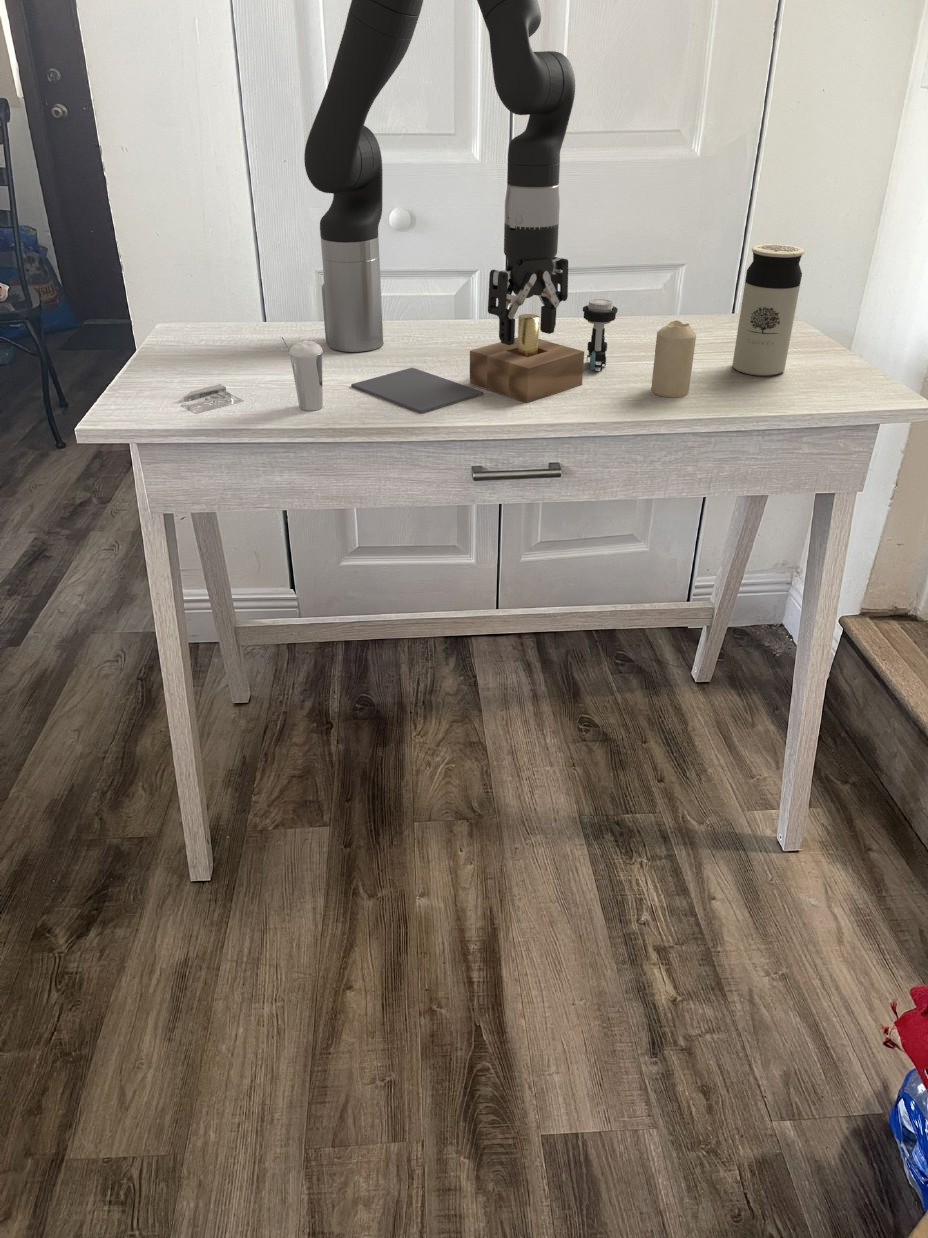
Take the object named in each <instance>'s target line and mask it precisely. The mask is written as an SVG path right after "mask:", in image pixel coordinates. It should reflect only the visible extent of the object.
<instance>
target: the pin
mask: <svg viewBox="0 0 928 1238" xmlns="http://www.w3.org/2000/svg"><path fill="white" fill-rule="evenodd" d="M517 321H518V322H517V326H518V327H517V337H518V353H517V354H518V355H521V356H525V357H530V356H534V355H537V354H538V339H539V330H540V327H539V326H540V316H539V315H537V314H534V313H533V314H532V313H525V314H523V313H522V314H520V315H518V320H517Z"/></svg>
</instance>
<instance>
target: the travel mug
mask: <svg viewBox="0 0 928 1238" xmlns="http://www.w3.org/2000/svg"><path fill="white" fill-rule="evenodd" d="M751 252H752V262H751V263H750V265H749V266H748V267H747V269H746V274H745V281H744V286H743V294H742V299H741V307H740V312H739V313H740V314H739V319H738V320H739V321H738V327H737V332H736V339H735V344H734V345H735V346H734V352H733V357H732V358H733V359H732V367H733V368H734V369H735V370H736V371H738V372H739V373H742V374H746V375H751V376H754V377H755V376H757V377H769V376H771V377H772V376H775V375H779V374H781V373H783V372H784V371H785V369H786V364H787V358H788V353H789V347H790V342H791V336H792V331H793V325H794V320H795V315H796V310H797V303H798V298H799V292H800V288H801V282H802V277H803V276H802V275H803V272H802V269H801V267H800V266H801V265H800V261H801V259H802V257H803V255H805V250H804V249H803V248H801V247H799V246H795V245H790V244H780V243H778V244H777V243H776V244H775V243H764V244H758V245H755V246H753V247H752V248H751Z"/></svg>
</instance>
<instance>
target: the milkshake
mask: <svg viewBox="0 0 928 1238" xmlns="http://www.w3.org/2000/svg"><path fill="white" fill-rule="evenodd" d="M281 339H282V341H283V342H284V344H285V346H286V349H287V350H288V353H289V358H290V364H291V369H292V374H293V379H294V384H295V389H296V390H295V391H296V396H297V403H298V407H299V409H300V410H302V411H306V412H312V411H317V410H321V409H322V408H323V407H324V403H323V401H324V399H323V395H324V394H323V393H324V392H323V355H324V353H323V348H322V346H321V345H320V344H318V343H316V342H315V341H312V340H302V341H301V342H296V343H294V344H293V345H292V346H291V347H290V349H289V347H288V345H287V343H286V341H285V340H284V338H283V336H281Z"/></svg>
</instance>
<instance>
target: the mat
mask: <svg viewBox="0 0 928 1238" xmlns="http://www.w3.org/2000/svg"><path fill="white" fill-rule="evenodd" d="M351 388H354V389H356V390H358V391H362V392H364V393H366V394H369V395H372V396H375V397H377V398H380V399H382V400H384V401H388V402H389V403H393V404H395V405H398V406H401V407H402V408H403V407H404V408H405V409H409V410H411V411H414V412H416V413H419V414H421V415H422V414H424V413H428V412H432V411H434V410H438V409H441V408H444V407H447V406H450V405H454V404H456V403H459V402H463V401H467V400H470V399H474V398H476V397H479V396H482V395H484V391H483V390H479V389H476V388H473V387H471V386H468V385H465V384H462V383H460V382H459V383H458V382H456V381H453V380H450V379H447V378H445V377H442V376H438V375H436V374H433V373H429V372H427V371H424V370H421V369H418V368H415V367H409V368H405V369H402V370H397V371H395V372H391V373H387V374H383V375H380V376H375V377H373V378H369V379H366V380H360V381H358V382H355V383H354V382H353V383H351Z"/></svg>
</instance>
